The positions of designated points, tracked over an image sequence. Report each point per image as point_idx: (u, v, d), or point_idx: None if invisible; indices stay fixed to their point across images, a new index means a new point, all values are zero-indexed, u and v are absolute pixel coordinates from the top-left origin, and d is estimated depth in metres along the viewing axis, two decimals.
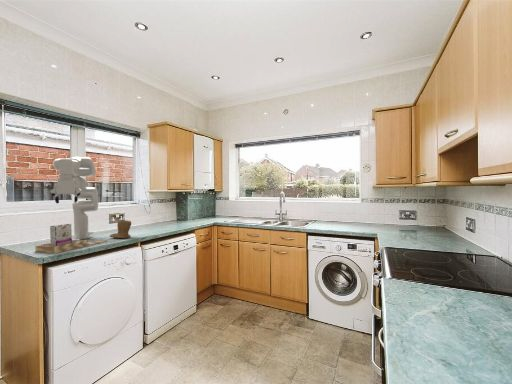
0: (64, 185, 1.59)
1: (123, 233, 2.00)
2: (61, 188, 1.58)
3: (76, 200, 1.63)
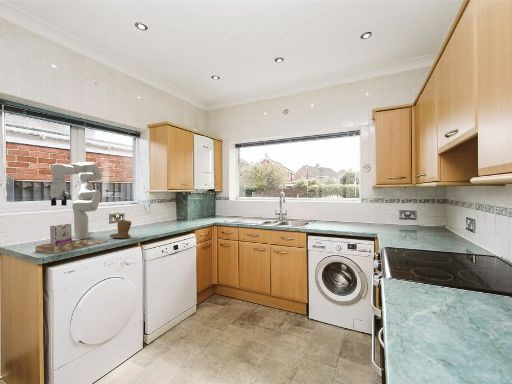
0: None
1: (123, 233, 2.00)
2: None
3: None
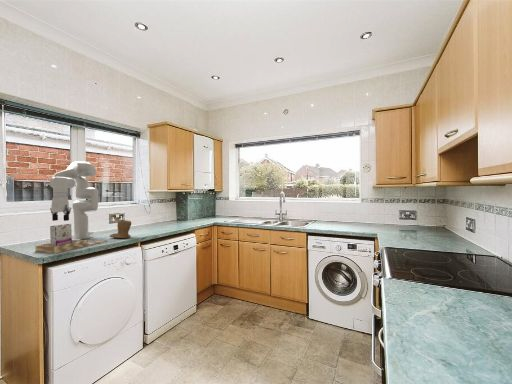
0: None
1: (123, 233, 2.00)
2: None
3: None
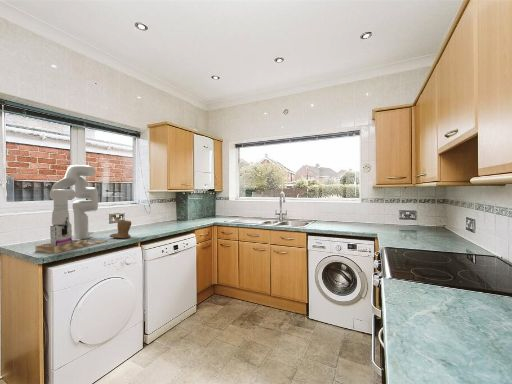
0: None
1: (123, 233, 2.00)
2: None
3: None
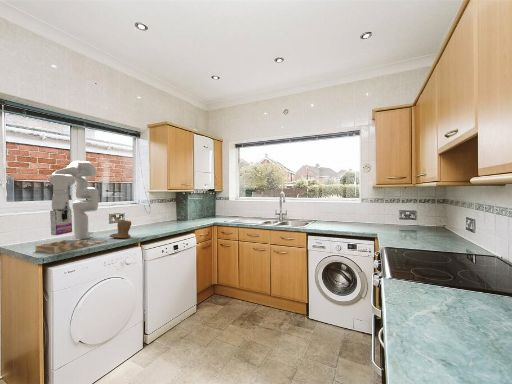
0: None
1: (123, 233, 2.00)
2: None
3: None
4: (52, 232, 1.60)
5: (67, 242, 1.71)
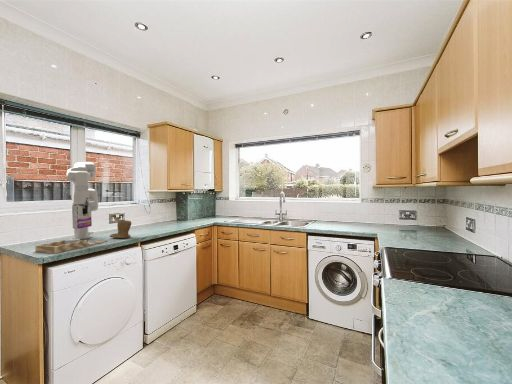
0: None
1: (123, 233, 2.00)
2: None
3: None
4: (74, 225, 1.70)
5: (66, 242, 1.70)
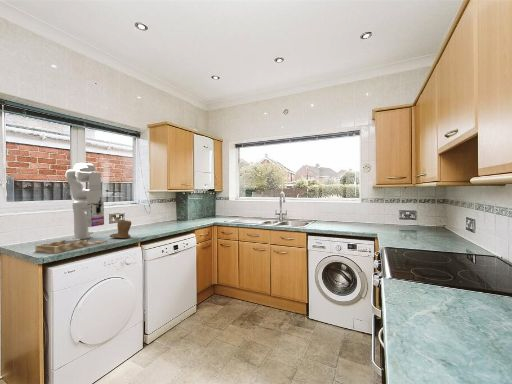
0: None
1: (123, 233, 2.00)
2: None
3: None
4: (88, 224, 1.77)
5: (67, 242, 1.70)
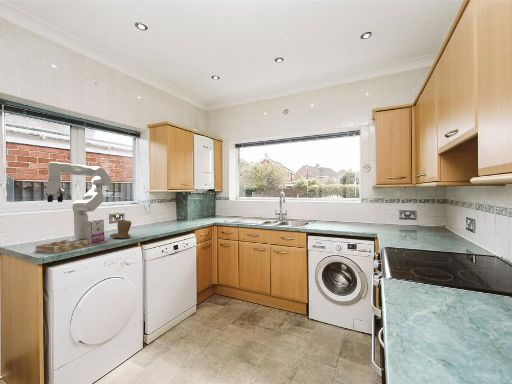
0: None
1: (123, 233, 2.00)
2: None
3: None
4: (88, 241, 1.77)
5: None
